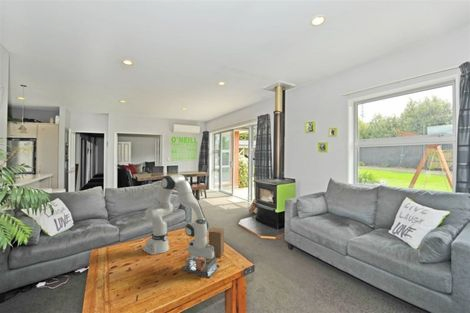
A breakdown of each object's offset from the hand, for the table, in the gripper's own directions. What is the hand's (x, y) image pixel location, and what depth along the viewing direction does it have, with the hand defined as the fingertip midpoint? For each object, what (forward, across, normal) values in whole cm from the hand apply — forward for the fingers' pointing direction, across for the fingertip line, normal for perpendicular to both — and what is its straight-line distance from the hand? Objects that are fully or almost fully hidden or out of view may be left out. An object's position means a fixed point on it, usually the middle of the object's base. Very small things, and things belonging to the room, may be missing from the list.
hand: (201, 262), depth 146 cm
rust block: (+4, 0, 0) cm, 4 cm away
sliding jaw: (+3, +8, 0) cm, 9 cm away
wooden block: (+5, 0, -23) cm, 24 cm away
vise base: (+5, 0, 0) cm, 5 cm away
